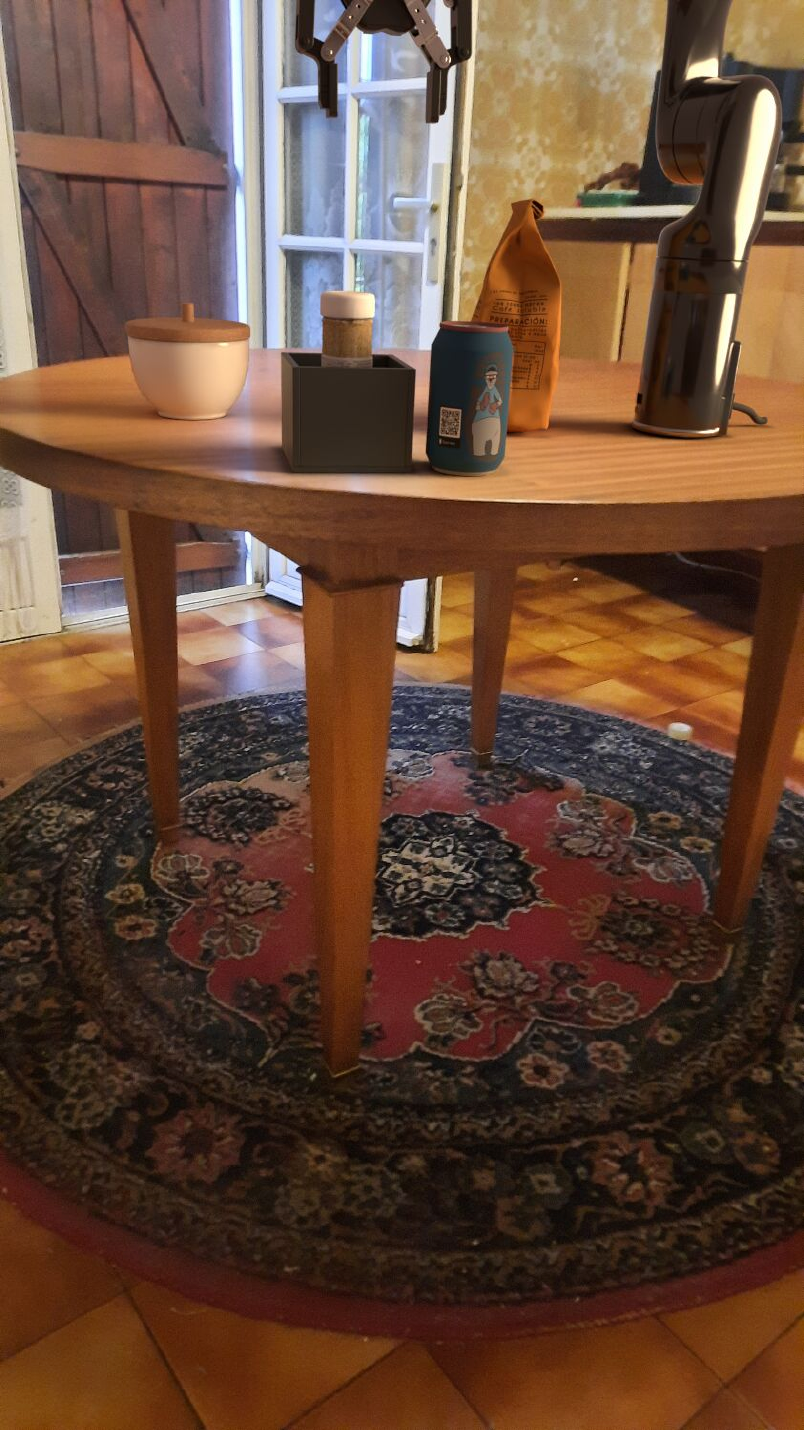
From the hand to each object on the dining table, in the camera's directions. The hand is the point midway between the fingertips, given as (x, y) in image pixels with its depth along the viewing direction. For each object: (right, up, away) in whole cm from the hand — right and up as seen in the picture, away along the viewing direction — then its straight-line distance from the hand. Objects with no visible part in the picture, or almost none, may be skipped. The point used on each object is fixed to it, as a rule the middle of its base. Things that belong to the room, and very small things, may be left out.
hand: (382, 120), depth 85 cm
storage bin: (-4, -27, +6) cm, 28 cm away
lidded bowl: (-21, -18, +24) cm, 36 cm away
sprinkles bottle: (-3, -26, +6) cm, 27 cm away
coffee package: (+13, -19, +25) cm, 34 cm away
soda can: (+7, -28, +5) cm, 29 cm away
